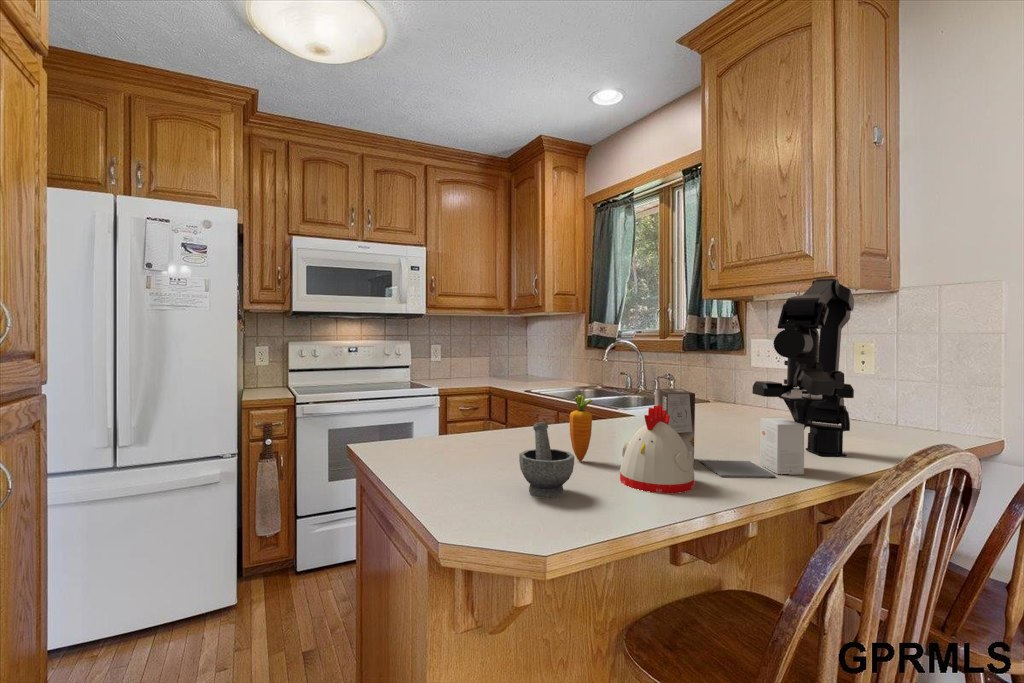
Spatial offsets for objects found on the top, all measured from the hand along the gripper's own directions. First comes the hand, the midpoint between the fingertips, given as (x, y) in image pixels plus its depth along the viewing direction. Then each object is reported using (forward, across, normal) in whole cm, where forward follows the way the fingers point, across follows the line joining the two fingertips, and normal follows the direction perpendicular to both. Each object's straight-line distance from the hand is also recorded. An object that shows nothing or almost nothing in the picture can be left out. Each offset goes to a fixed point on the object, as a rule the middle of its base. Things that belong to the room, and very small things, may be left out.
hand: (801, 430), depth 111 cm
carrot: (+9, -46, +5) cm, 47 cm away
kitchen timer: (+9, -33, -10) cm, 36 cm away
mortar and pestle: (+9, -55, -17) cm, 58 cm away
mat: (+9, -14, 0) cm, 16 cm away
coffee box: (+9, -25, +6) cm, 27 cm away
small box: (+9, -4, 0) cm, 10 cm away
